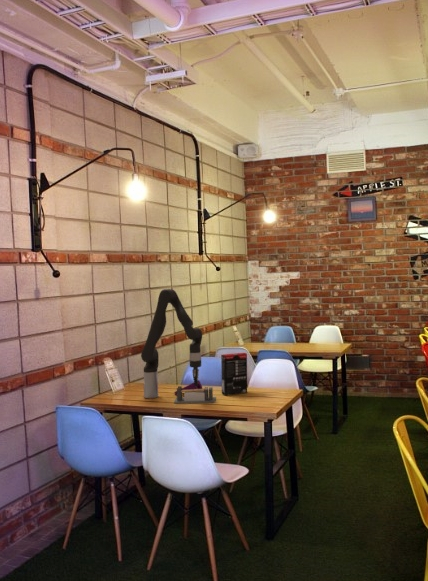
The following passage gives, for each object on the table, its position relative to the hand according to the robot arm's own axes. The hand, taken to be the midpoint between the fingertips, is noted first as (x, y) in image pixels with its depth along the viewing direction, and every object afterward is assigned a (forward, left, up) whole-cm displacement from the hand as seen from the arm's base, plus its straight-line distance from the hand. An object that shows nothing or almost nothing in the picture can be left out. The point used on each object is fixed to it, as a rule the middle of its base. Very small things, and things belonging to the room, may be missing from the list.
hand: (196, 386), depth 370 cm
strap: (-2, 0, -3) cm, 4 cm away
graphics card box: (+24, +20, -10) cm, 33 cm away
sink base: (-1, 0, -10) cm, 10 cm away
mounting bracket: (-8, +19, -10) cm, 23 cm away
